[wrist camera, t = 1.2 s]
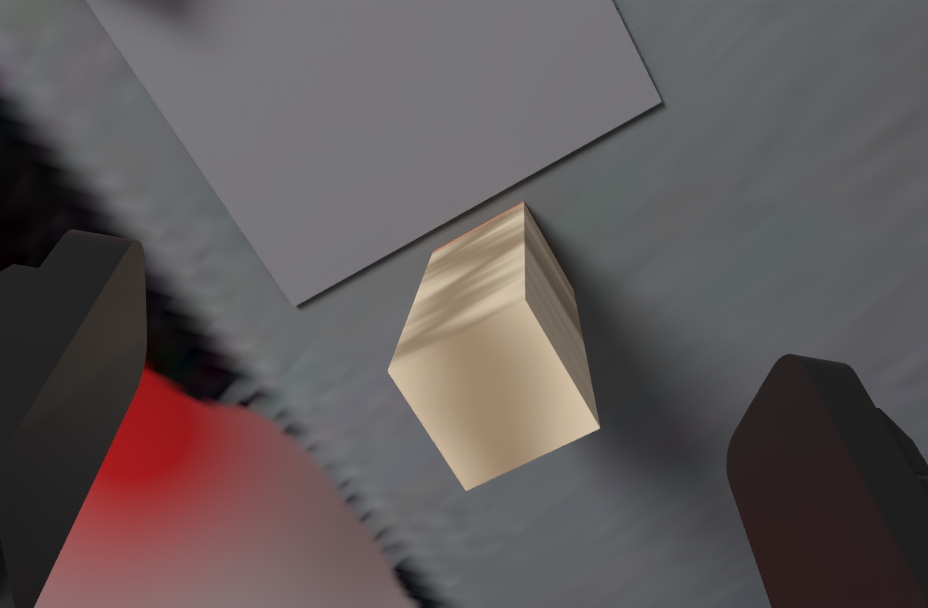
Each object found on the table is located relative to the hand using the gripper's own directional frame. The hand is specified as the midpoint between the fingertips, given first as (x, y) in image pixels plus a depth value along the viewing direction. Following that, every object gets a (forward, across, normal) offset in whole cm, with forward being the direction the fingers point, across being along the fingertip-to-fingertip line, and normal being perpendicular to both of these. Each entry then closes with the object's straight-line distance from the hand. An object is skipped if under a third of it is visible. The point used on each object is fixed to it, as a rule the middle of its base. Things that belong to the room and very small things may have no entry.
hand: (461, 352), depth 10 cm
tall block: (+24, -5, +15) cm, 29 cm away
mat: (+28, +3, +6) cm, 29 cm away
